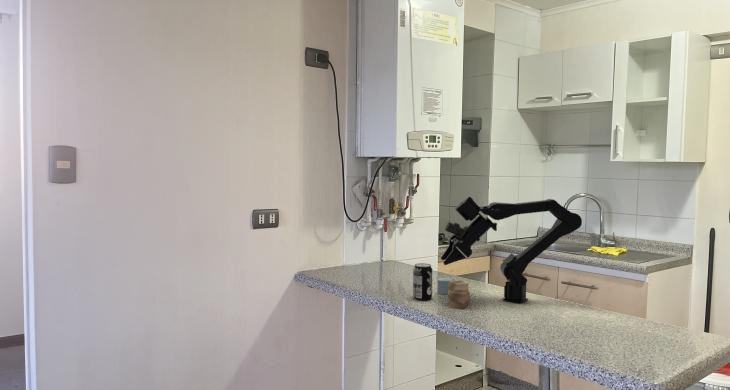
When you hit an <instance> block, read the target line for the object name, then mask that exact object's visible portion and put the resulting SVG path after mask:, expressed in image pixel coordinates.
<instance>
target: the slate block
mask: <svg viewBox="0 0 730 390" xmlns="http://www.w3.org/2000/svg"><path fill="white" fill-rule="evenodd" d="M451 281H455V280H454V278H451V277H439V279H437V294H438V295H448V282H451ZM448 296H449V295H448Z"/></svg>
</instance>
